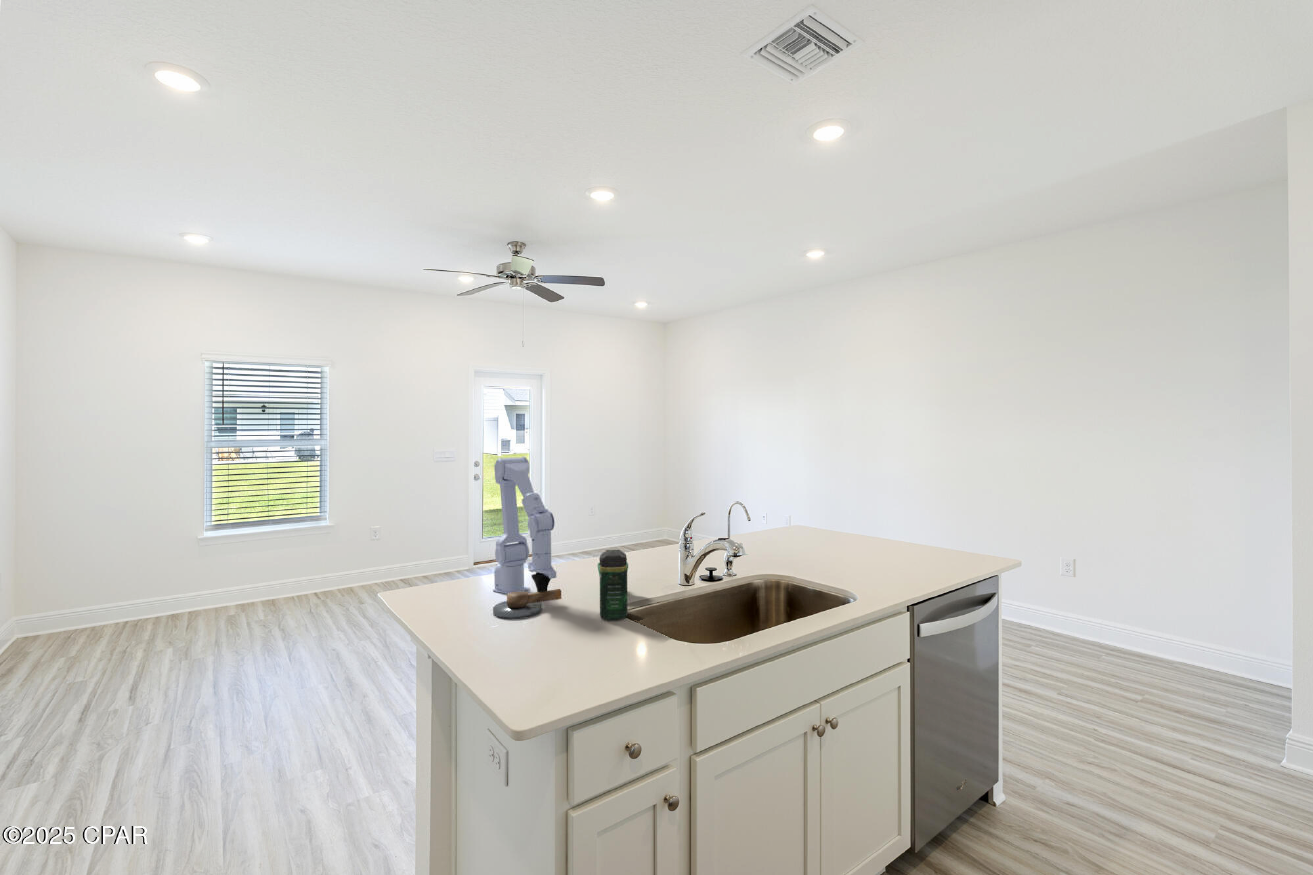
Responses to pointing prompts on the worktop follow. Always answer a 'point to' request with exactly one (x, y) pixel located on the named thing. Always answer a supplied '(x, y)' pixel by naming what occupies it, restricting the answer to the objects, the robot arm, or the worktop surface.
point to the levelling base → (516, 610)
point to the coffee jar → (613, 585)
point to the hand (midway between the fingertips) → (542, 597)
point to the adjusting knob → (531, 597)
